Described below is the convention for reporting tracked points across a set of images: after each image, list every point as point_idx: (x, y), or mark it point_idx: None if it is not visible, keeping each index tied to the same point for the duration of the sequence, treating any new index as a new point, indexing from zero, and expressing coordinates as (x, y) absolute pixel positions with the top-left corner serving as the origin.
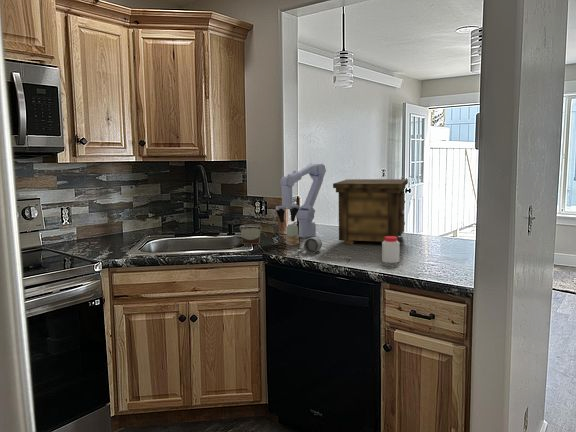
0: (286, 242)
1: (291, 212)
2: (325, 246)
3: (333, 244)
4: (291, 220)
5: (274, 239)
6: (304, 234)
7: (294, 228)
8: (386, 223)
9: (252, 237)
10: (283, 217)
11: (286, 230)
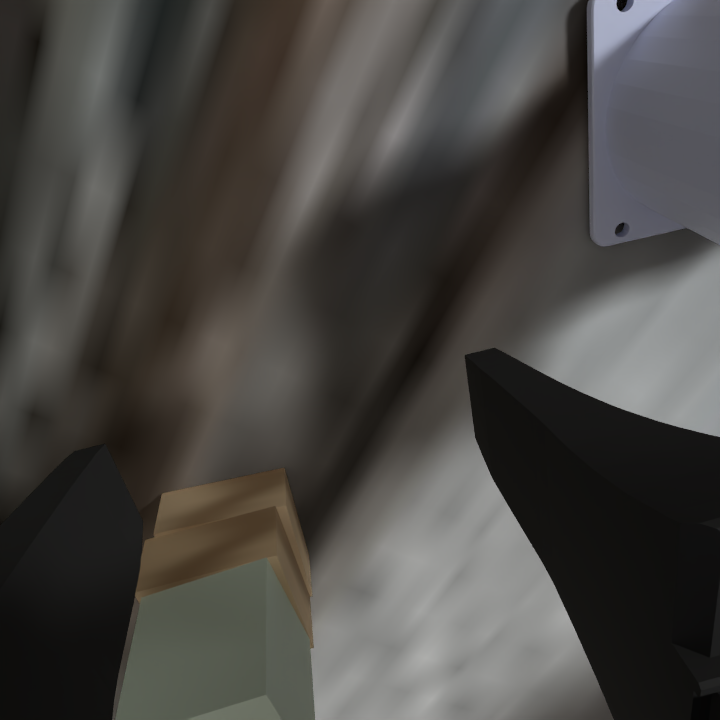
0: (160, 510)
1: (595, 535)
2: (475, 714)
3: (591, 673)
4: (473, 374)
5: (77, 71)
6: (650, 207)
7: None
8: None
9: None
10: (111, 669)
11: (129, 672)
